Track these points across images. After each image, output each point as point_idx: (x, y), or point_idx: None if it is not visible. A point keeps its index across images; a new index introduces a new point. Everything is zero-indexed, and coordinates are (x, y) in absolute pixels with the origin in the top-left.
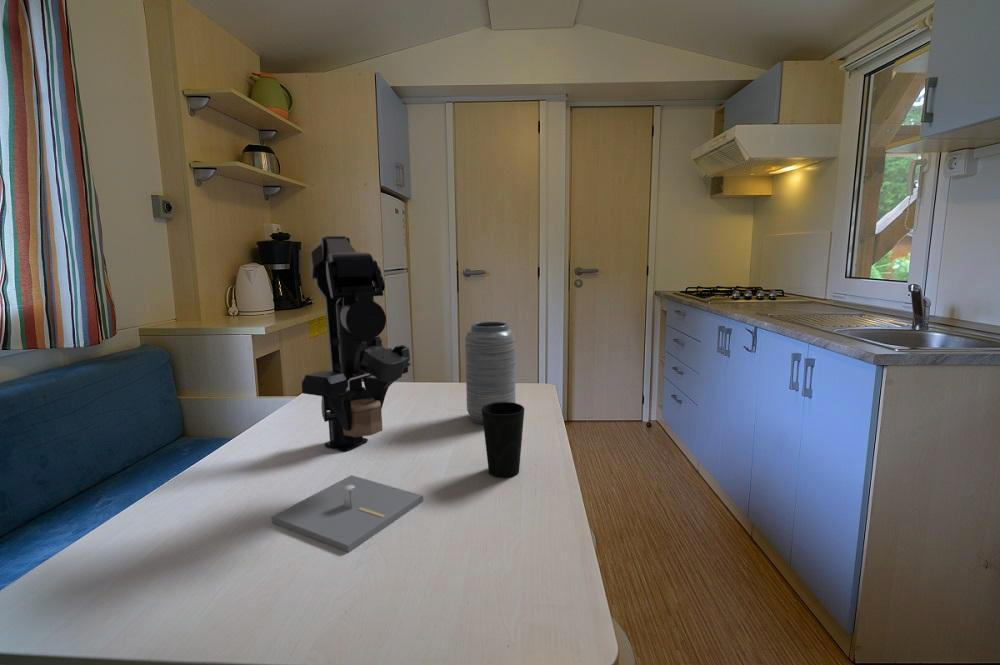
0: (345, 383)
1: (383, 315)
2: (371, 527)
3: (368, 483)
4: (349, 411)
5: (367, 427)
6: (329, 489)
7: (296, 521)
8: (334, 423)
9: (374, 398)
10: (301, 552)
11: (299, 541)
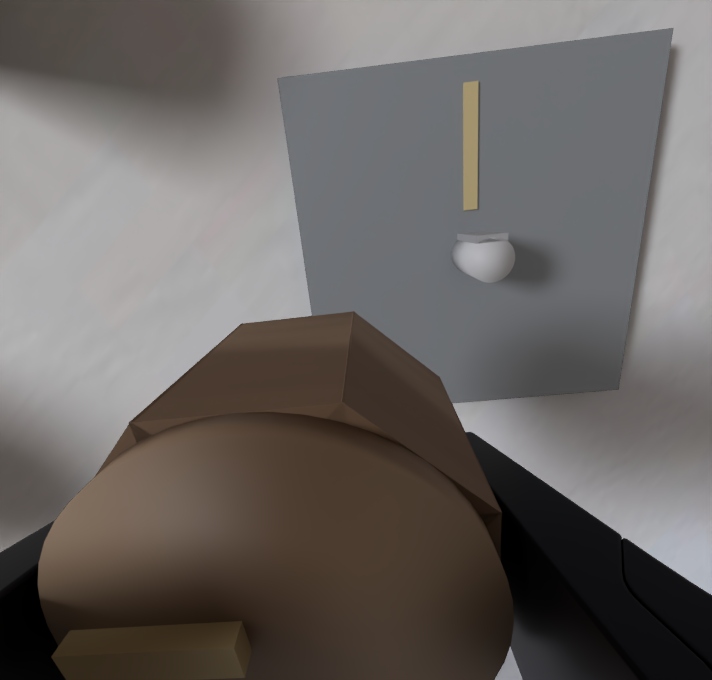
0: None
1: None
2: (548, 56)
3: None
4: (576, 547)
5: (375, 348)
6: None
7: (614, 309)
8: None
9: (41, 662)
10: (698, 179)
11: (653, 236)
